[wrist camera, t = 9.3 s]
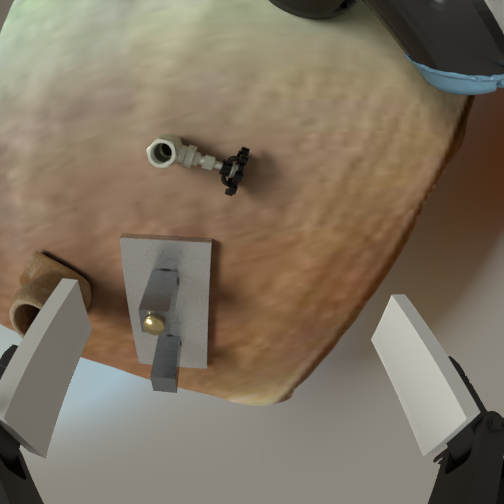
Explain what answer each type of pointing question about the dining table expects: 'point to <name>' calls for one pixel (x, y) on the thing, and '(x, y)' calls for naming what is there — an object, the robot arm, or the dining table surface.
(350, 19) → the dining table surface
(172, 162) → the valve
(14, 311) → the stone cup
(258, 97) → the dining table surface
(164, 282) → the block
